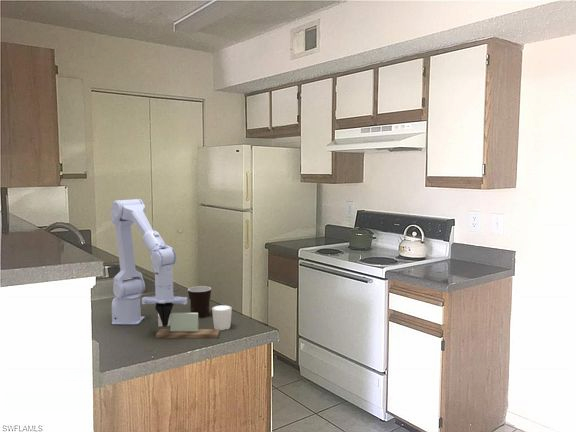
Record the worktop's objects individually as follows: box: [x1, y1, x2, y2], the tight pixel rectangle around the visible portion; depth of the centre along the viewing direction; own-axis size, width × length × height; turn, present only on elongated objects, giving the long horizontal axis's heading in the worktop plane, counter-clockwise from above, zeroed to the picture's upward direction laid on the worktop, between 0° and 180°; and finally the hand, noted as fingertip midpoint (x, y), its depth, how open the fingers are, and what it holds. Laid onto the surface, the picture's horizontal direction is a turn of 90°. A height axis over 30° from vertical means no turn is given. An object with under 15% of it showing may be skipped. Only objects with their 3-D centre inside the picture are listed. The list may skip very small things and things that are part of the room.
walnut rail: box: [155, 328, 221, 339], centre depth 159 cm, size 20×5×1 cm, turn 89°
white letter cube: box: [157, 313, 170, 328], centre depth 170 cm, size 4×4×4 cm
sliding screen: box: [169, 312, 199, 332], centre depth 158 cm, size 9×1×6 cm, turn 89°
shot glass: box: [211, 304, 233, 331], centre depth 166 cm, size 7×7×7 cm
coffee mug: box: [187, 285, 212, 319], centre depth 181 cm, size 12×9×10 cm
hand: (165, 325), depth 158 cm, fingers closed
